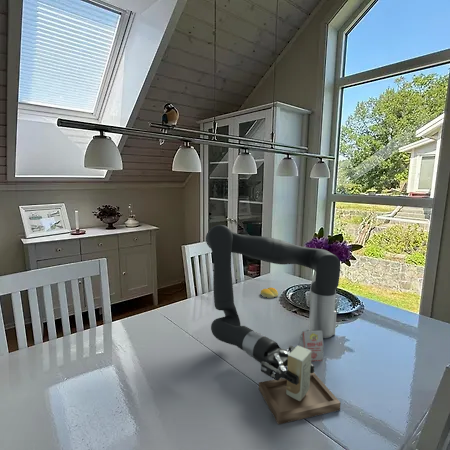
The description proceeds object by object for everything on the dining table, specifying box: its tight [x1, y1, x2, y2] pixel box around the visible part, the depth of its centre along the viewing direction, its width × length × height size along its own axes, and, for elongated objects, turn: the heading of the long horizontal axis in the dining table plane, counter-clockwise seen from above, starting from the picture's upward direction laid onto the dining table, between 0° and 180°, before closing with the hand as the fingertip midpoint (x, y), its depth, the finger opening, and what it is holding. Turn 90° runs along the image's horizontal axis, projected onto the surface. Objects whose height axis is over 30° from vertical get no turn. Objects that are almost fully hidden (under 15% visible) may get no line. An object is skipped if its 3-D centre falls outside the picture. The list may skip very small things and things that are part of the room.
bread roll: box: [260, 287, 279, 299], centre depth 155 cm, size 8×9×4 cm
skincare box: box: [286, 344, 312, 401], centre depth 82 cm, size 6×4×12 cm
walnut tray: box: [258, 371, 341, 425], centre depth 83 cm, size 18×13×2 cm
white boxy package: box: [299, 330, 324, 362], centre depth 101 cm, size 4×7×10 cm, turn 94°
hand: (305, 375), depth 80 cm, fingers closed on skincare box, 6 cm apart
